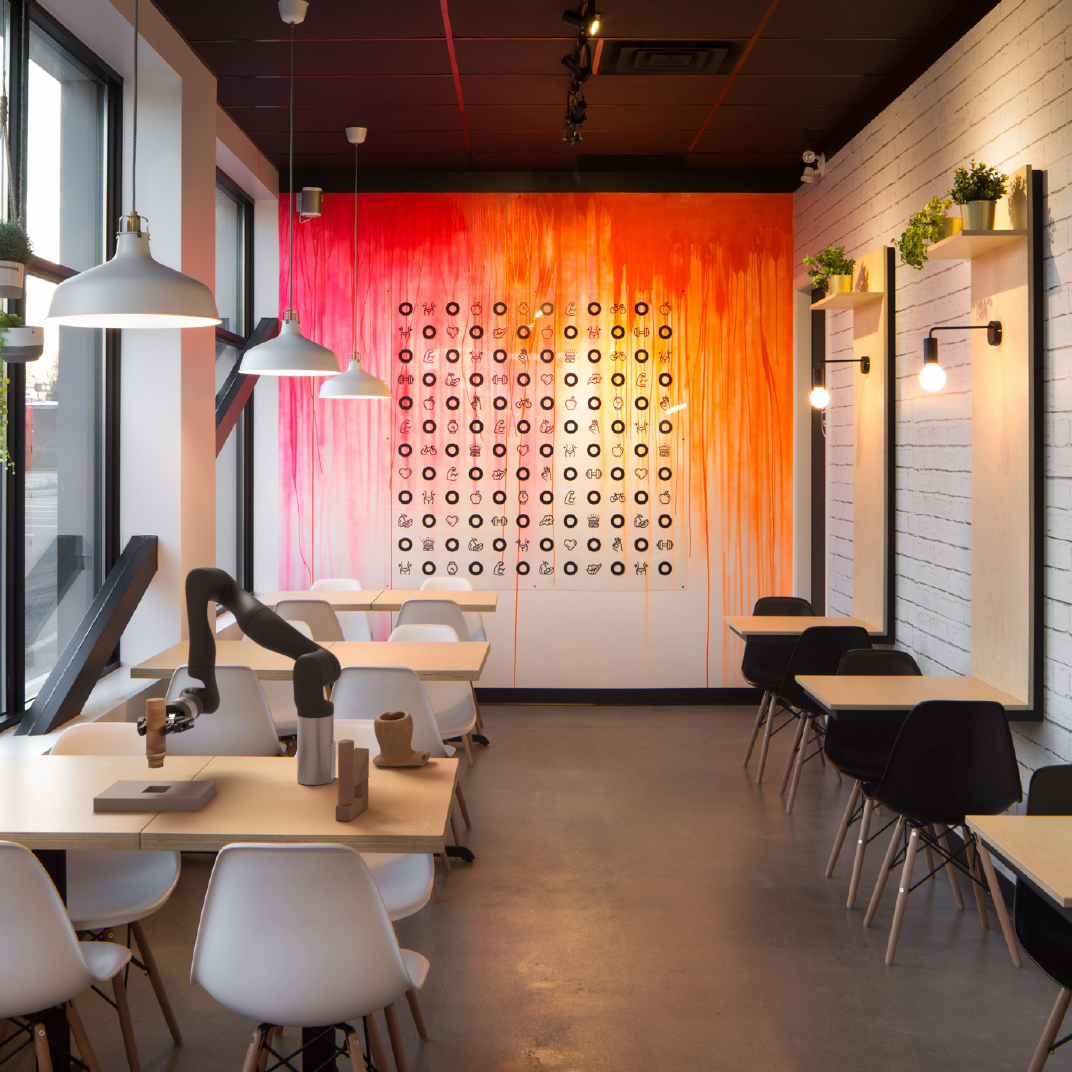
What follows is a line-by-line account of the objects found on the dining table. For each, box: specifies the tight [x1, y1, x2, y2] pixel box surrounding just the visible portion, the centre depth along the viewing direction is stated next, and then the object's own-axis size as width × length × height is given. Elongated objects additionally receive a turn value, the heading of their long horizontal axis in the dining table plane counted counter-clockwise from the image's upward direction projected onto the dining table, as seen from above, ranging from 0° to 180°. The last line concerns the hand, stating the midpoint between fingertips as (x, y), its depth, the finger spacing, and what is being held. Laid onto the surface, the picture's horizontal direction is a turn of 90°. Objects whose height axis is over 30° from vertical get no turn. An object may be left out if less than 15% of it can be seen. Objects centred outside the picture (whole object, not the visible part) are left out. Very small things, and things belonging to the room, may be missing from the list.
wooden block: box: [335, 738, 370, 823], centre depth 223 cm, size 4×11×18 cm, turn 167°
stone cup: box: [372, 709, 432, 767], centre depth 264 cm, size 15×12×15 cm
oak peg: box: [145, 697, 167, 769], centre depth 230 cm, size 5×5×16 cm
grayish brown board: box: [92, 779, 218, 813], centre depth 231 cm, size 24×14×3 cm, turn 91°
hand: (151, 731), depth 228 cm, fingers closed on oak peg, 4 cm apart
